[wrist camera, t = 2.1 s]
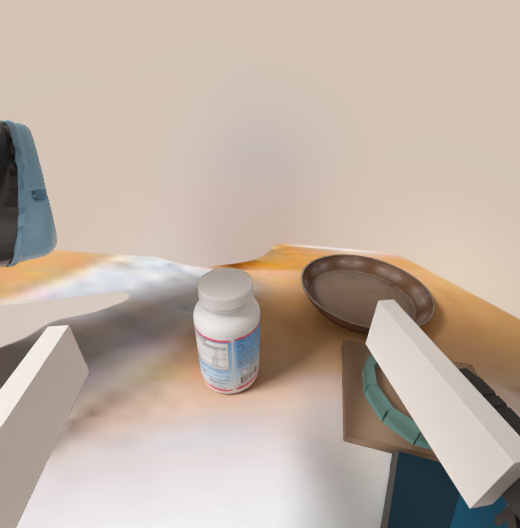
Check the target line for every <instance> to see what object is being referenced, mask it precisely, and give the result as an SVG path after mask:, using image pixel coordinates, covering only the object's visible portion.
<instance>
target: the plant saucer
mask: <svg viewBox="0 0 520 528" xmlns="http://www.w3.org/2000/svg"><path fill="white" fill-rule="evenodd" d="M301 283H302V287H303V289H304V291H305V293H306V295H307V297H308V298H309V299H310V301H311V302H312V304H313V305H314V306H315V307H316V308H317V309H318V310H319V311H320V312H321V313H322V314H323V315H324V316H326V317H327V318H328V319H330V320H331V321H333V322H335V323H336V324H338V325H340V326H342V327H345V328H347V329H350V330H353V331H356V332H360V333H365V334H369V330H370V327H371V323H372V320H373V317H374V313H375V310H376V306H377V303H378V301H380V300H392V299H394V300H395V301H396V302H397V304H398V305H399V306H400V307H401V308H402V309H403V310H404V311H405V312H406V313H407V314H408V315H409V317H410V318H411V319H412V320H413V321H414V322H415V323H416V324H417V325H418V326H421V325H423V324H425V323H427V322H428V321H429V320H430V319H431V318H432V316H433V314H434V311H435V302H434V299H433V297H432V295H431V293H430V292H429V290H428V289H427V288H426V287H425V285H424V284H422V283H421V282H420V281H419V280H418V279H417V278H415V277H414V276H412V275H411V274H409V273H408V272H406V271H404V270H402V269H400V268H398V267H396V266H394V265H392V264H389V263H386V262H384V261H380V260H377V259H373V258H369V257H364V256H358V255H345V254H344V255H343V254H341V255H329V256H324V257H321V258H318V259H315V260H313V261H311V262H310V263H309V264H307V265H306V266H305V268H304V269H303V271H302V274H301Z"/></svg>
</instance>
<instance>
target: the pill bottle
mask: <svg viewBox="0 0 520 528" xmlns="http://www.w3.org/2000/svg"><path fill="white" fill-rule="evenodd" d="M198 297H199V301H198V302H197V304H196V306H195V308H194V312H193V321H194V328H195V334H196V341H197V348H198V355H199V361H200V368H201V374H202V377H203V379H204V381H205V383H206V384H207V386H208V387H210V388H211V389H212V390H214V391H216V392H218V393H223V394H233V393H238V392H241V391H243V390H245V389H246V388H248V387H249V386H250V385H251V384H252V383H253V382H254V381H255V379H256V377H257V375H258V372H259V356H260V316H261V315H260V306H259V304H258V302H257V300H256V299H255V298H254V297H253V280H252V278H251V276H250V275H249V274H247V273H246V272H244V271H242V270H239V269H234V268H221V269H216V270H213V271H210V272H208V273H206V274H205V275H203V276H202V277H201V279H200V280H199V282H198Z"/></svg>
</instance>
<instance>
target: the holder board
mask: <svg viewBox="0 0 520 528" xmlns="http://www.w3.org/2000/svg"><path fill="white" fill-rule="evenodd" d="M451 362H452V363H453V364H454V365H455V366H456V368H457V369H461V368H466V369H468V370H469V371H471V372H472V373H474V374H475V375H477V374H476V372H475V370H474V368H473V366H472V365H468V364H463V363H458V362H453V361H451ZM342 387H343V441H347V442H350V443H354V444H358V445H362V446H366V447H369V448H373V449H377V450H381V451H385V452H388V453H393V452H395V451H400V452H403V453H407V454H411V455H415V456H419V457H423V458H426V459H430V460H434V461H438V462H440V461H439V459H438V458H437V456H436V454H435V453H434V451H433V450H432V448H431V447H430V445H429V443H428V442H427V440H426V439H425V437H424V435H423V434H422V432H421V431H420V429H419V428H418V426H417V424H416V423H415V421H414V420H413V418H412V417H411V415H410V413H409V412H408V410H407V409H406V407H405V405H404V404H403V402H402V401H401V399H400V398H399V396H398V394H397V393H396V391H395V390H394V388H393V386H392V385H391V383H390V382H389V380H388V379H387V377H386V375H385V374H384V372H383V371H382V369H381V367H380V366H379V364H378V363H377V361H376V360H375V358H374V356H373V355H372V353H371V352H370V350H369V349H368V347H367V345H365V344H360V343H355V342H349V341H343V345H342Z"/></svg>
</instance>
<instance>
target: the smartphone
mask: <svg viewBox="0 0 520 528" xmlns="http://www.w3.org/2000/svg"><path fill="white" fill-rule="evenodd" d="M507 506H508V503H507V502H506V501H505V499H504V498H503V496H502V495H501V496H500V497H499V498H498V499H497V500H496V501H495V502H494V503H493V504H491V505H486V506H481V507H476V508H471V509H470V508H469V507H468V505H467V504H466V502H465V500H464V499H463V497H462V496H461V494H460V492H459V491H458V489H457V488H456V486H455V485H454V483H453V481H452V480H451V478H450V477H449V475H448V473H447V472H446V470H445V469H444V467H443V466H442V464H441V462H438V461H434V460H430V459H426V458H423V457H419V456H415V455H411V454H407V453H403V452H400V451H395V452H393V453H392V459H391V465H390V474H389V480H388V486H387V492H386V498H385V504H384V510H383V516H382V522H381V528H507V526H508V525H507V520H506V521H505V522H504V523H503V524H502V525H500V526H497V525H495V517H496V516H497V515H498V514H499V513H500V512H501V511H502V510H504V509H505V508H506V507H507Z"/></svg>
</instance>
